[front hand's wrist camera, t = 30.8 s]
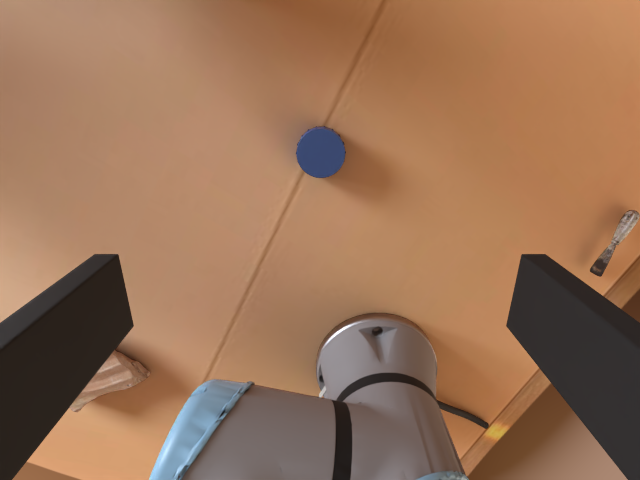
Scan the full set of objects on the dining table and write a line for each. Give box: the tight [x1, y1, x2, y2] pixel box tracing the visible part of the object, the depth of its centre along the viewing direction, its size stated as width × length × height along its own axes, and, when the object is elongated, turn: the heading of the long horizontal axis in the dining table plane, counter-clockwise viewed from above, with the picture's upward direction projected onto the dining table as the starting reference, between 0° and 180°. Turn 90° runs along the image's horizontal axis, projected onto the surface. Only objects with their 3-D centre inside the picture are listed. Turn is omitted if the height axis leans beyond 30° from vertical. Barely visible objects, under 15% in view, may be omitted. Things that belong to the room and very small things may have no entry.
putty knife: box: [590, 210, 640, 276], centre depth 42 cm, size 1×8×2 cm, turn 163°
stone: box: [69, 350, 151, 412], centre depth 48 cm, size 13×12×2 cm
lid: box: [296, 126, 346, 178], centre depth 38 cm, size 5×5×2 cm
